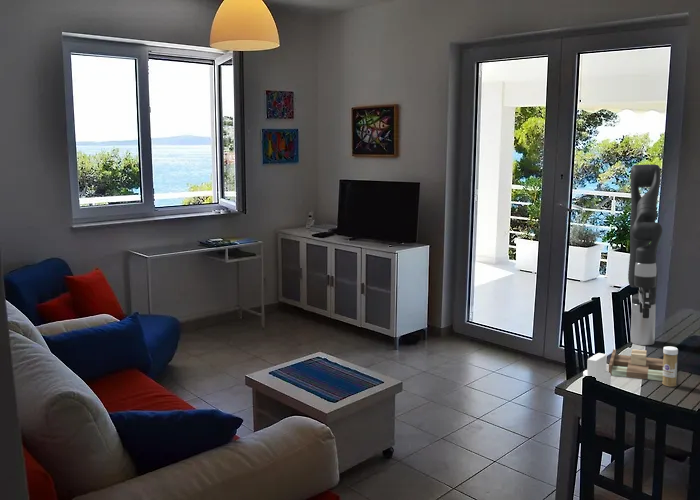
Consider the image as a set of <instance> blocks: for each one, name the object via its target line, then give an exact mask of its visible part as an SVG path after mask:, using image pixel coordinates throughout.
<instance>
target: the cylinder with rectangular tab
mask: <svg viewBox="0 0 700 500" xmlns="http://www.w3.org/2000/svg"><path fill="white" fill-rule="evenodd" d="M607 357H608V355H607V353H601V352H598V353H596V354H594V355H592V356H590V357H589V358H587V361H586V362H587V363H586V364H587V368H586V369H584V371H583V372H582V378H583V377H585V376H592V377H595V378H596V379H597V380H598V381H601V382H604V383H606V384H608V385H612V383H611V382H612V381H611V380H612V379H611V378H612V375H611V374H610V373H609V370H608V371H607V362H608V360H607V359H608V358H607Z"/></svg>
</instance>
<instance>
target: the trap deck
mask: <svg viewBox="0 0 700 500" xmlns="http://www.w3.org/2000/svg"><path fill="white" fill-rule="evenodd" d="M663 359H664V358H655V357H648V356H646V366H644V365H634V364H631V355H625V354H617V349H613V350H612V352H611V356H610V359H609V363H608V372H609V373H610V374H611V376H615V377H623V378H634V379H644V380H650V381H659V382H663Z"/></svg>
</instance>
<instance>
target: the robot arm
mask: <svg viewBox="0 0 700 500" xmlns="http://www.w3.org/2000/svg"><path fill="white" fill-rule="evenodd" d="M661 175H662V172H661V167H660V166H659V164H655V163H654V164H634V165H633V166H631V169H630V196H631V202H630V205H631V206H630V207H631V208H630V209H631V210H630V219H629V220H630V223H629V224H630V226H629V229H630V230H629V233H630V234H629V235H630V236H629V239H630V241H629V242H630V243H629V244H630V246H629V250H630V251H629V262H628V273H627V277H628V278H627V279H628V285H629V286H630V288H638V293H635V294H633V295H632V296H631V315H630V317H631V318H630V343H632V344H635V345H640V346H650V345H654V344H655V334H656V308H657V307H656V300H657V289H658V269H657V250H658V246H659V242H660V239H661V237H662V234H663V227H662V225H661V224H660V222H657V221H656V220H657V218H658V217H657V213H658V211H657V210H658V209H657V205H658V200H659V199H658V198H659V193H660V186H661ZM640 188H648V190H647V191H646V192H645V193H644V194H643V195H642V194H641V192H640Z"/></svg>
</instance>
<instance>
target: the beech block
mask: <svg viewBox="0 0 700 500" xmlns="http://www.w3.org/2000/svg"><path fill="white" fill-rule="evenodd" d="M647 353H648V352H647V350H646V349H645V350H643V349H634V348H633V349H631V355H630V356H631V364H634V365H644V366H646V357H647Z"/></svg>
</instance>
